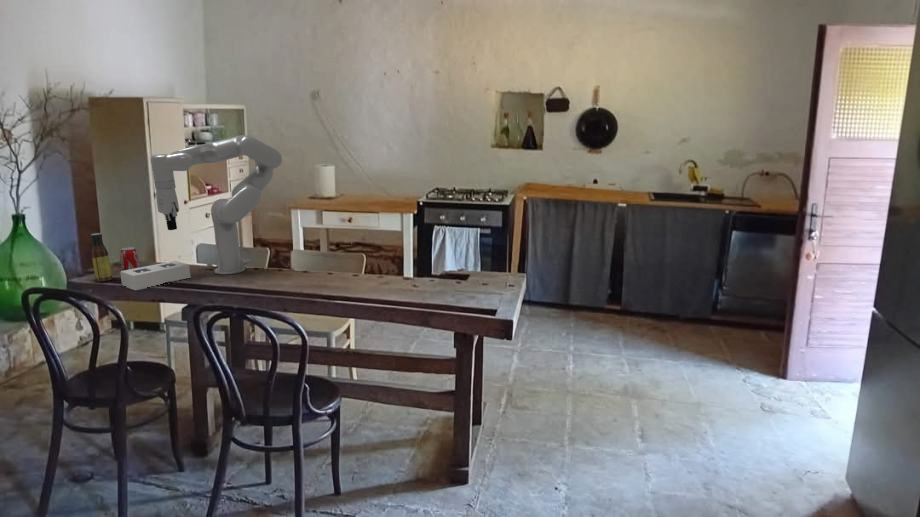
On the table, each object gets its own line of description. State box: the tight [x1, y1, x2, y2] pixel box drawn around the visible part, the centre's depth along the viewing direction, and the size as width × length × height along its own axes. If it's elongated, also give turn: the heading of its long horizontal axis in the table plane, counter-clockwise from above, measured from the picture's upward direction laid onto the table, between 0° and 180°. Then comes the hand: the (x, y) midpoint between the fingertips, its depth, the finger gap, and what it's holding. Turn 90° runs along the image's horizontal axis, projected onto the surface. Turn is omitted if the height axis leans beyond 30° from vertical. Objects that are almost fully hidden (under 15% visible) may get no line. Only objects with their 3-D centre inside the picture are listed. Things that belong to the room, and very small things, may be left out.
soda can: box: [119, 246, 141, 271], centre depth 285 cm, size 7×7×12 cm
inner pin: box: [162, 264, 175, 268], centre depth 278 cm, size 5×5×6 cm
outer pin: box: [135, 269, 148, 273], centre depth 270 cm, size 5×5×6 cm
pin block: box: [120, 260, 192, 292], centre depth 274 cm, size 23×12×6 cm, turn 139°
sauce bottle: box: [90, 232, 113, 283], centre depth 276 cm, size 6×6×20 cm
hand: (172, 229), depth 273 cm, fingers closed
